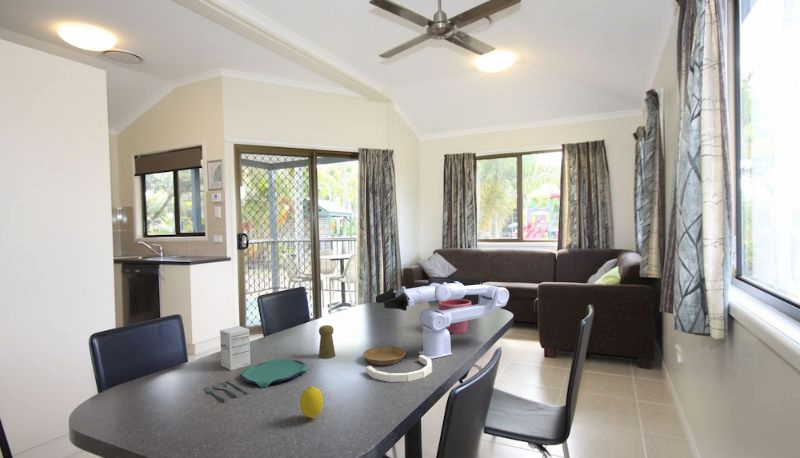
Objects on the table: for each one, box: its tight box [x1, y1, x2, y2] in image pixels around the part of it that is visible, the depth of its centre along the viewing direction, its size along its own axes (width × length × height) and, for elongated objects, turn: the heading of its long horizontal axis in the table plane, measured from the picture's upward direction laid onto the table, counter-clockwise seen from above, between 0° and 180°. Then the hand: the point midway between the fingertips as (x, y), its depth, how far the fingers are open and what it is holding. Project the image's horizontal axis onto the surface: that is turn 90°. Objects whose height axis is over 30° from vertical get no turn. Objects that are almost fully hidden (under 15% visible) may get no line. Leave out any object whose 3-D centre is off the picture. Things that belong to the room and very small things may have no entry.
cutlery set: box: [202, 358, 308, 403], centre depth 127 cm, size 20×30×2 cm, turn 136°
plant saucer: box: [362, 346, 406, 366], centre depth 142 cm, size 15×15×3 cm
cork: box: [318, 325, 336, 360], centre depth 147 cm, size 6×6×11 cm
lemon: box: [299, 385, 324, 419], centre depth 100 cm, size 6×6×8 cm
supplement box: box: [219, 325, 251, 371], centre depth 140 cm, size 7×7×13 cm
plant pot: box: [438, 298, 472, 335], centre depth 175 cm, size 14×14×13 cm
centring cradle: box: [365, 354, 433, 383], centre depth 128 cm, size 21×13×2 cm, turn 118°
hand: (380, 302), depth 137 cm, fingers open, 7 cm apart
